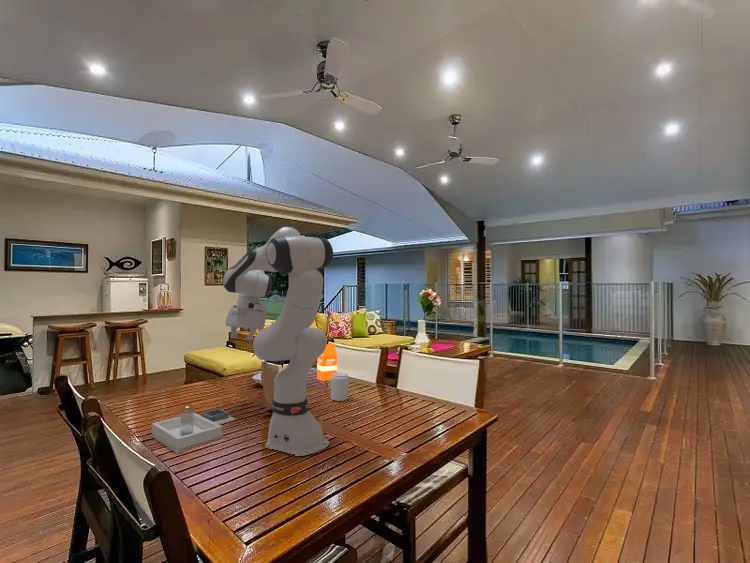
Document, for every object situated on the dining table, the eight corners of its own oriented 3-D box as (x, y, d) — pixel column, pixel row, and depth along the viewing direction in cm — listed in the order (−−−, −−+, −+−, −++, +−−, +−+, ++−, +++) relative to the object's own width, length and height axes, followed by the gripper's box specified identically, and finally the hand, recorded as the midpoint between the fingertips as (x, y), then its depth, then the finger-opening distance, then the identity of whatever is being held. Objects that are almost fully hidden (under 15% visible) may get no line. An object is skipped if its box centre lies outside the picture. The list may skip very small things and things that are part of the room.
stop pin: (195, 434, 136) (195, 405, 136) (183, 438, 133) (183, 408, 133) (189, 431, 139) (190, 403, 139) (177, 435, 135) (178, 406, 135)
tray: (221, 439, 135) (222, 426, 135) (177, 453, 124) (177, 439, 124) (194, 424, 148) (194, 412, 148) (151, 436, 136) (152, 423, 136)
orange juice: (336, 380, 218) (337, 344, 218) (321, 382, 214) (322, 345, 214) (330, 377, 225) (331, 342, 225) (316, 379, 221) (317, 343, 221)
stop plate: (235, 421, 152) (236, 413, 152) (211, 428, 145) (211, 420, 145) (217, 413, 161) (217, 405, 161) (193, 419, 154) (193, 411, 154)
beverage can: (339, 403, 178) (340, 377, 178) (327, 399, 183) (327, 374, 183) (351, 399, 184) (352, 374, 184) (338, 396, 189) (339, 371, 189)
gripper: (225, 303, 166) (218, 336, 163) (258, 305, 155) (251, 339, 152) (237, 306, 171) (231, 338, 168) (270, 308, 160) (264, 341, 157)
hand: (241, 339), depth 160 cm, fingers open, 8 cm apart
